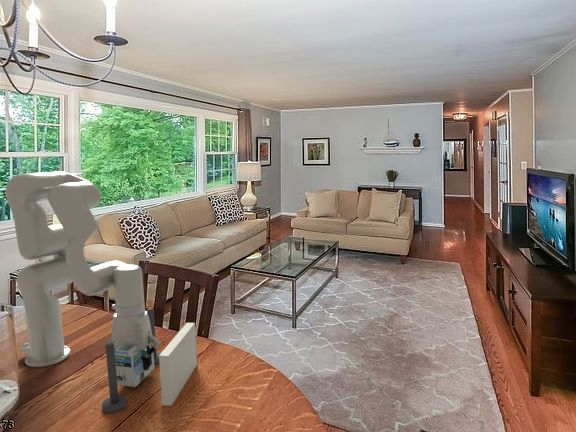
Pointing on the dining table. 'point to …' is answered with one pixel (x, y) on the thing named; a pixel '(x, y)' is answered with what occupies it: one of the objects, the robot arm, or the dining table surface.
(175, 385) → the breaker panel
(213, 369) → the dining table surface
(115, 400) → the post
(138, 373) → the light bulb box
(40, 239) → the robot arm
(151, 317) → the cord post
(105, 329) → the dining table surface
